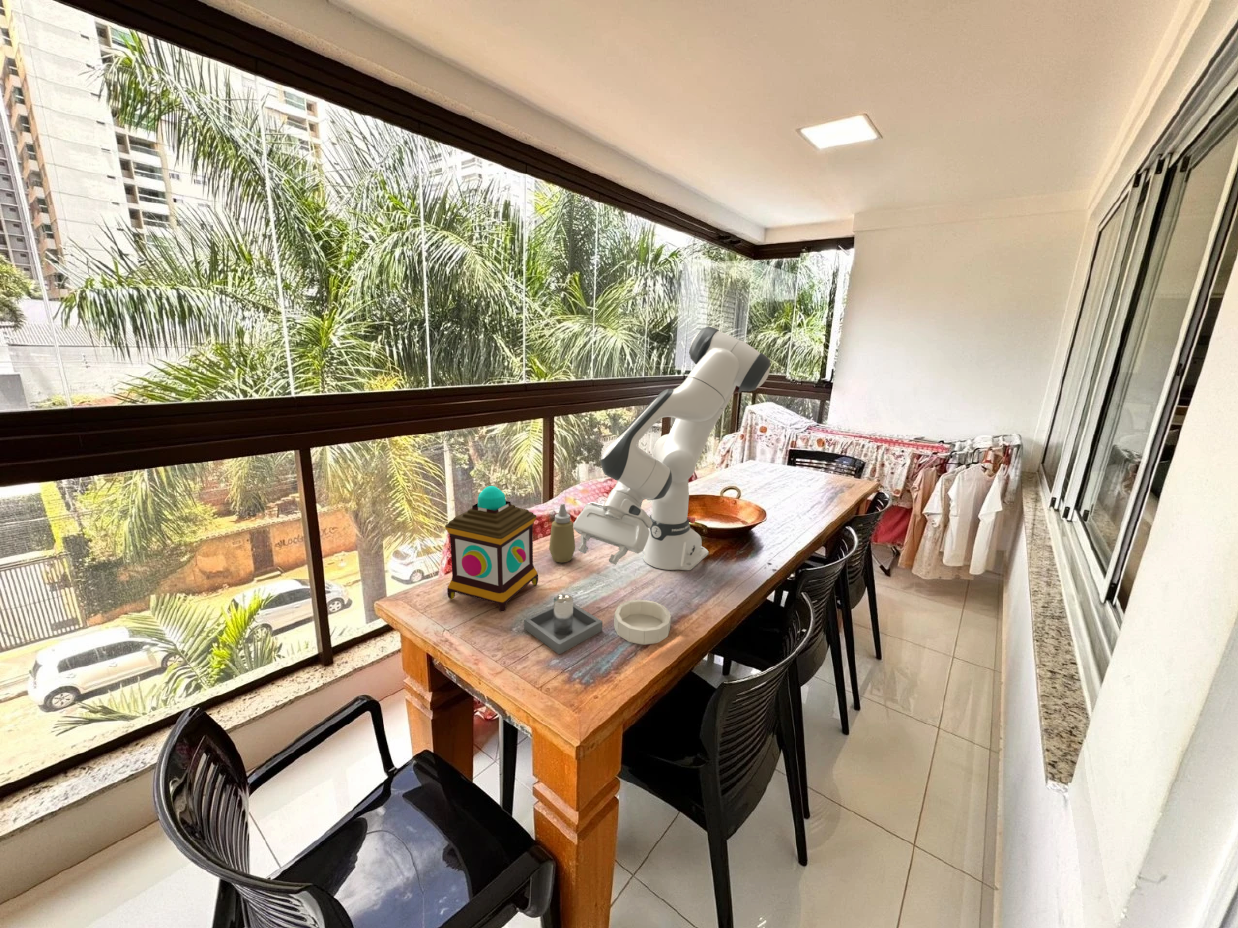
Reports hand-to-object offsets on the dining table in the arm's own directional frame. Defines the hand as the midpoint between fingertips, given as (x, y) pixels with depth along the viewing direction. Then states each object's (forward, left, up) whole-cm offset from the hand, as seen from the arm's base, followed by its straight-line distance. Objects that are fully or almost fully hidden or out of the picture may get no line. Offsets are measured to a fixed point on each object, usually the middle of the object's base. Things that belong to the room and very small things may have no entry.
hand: (596, 557), depth 123 cm
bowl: (-3, +14, -15) cm, 21 cm away
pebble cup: (+12, +2, -14) cm, 19 cm away
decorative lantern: (+13, -25, -15) cm, 33 cm away
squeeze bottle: (-13, -28, -15) cm, 35 cm away
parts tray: (+12, +2, -15) cm, 19 cm away
